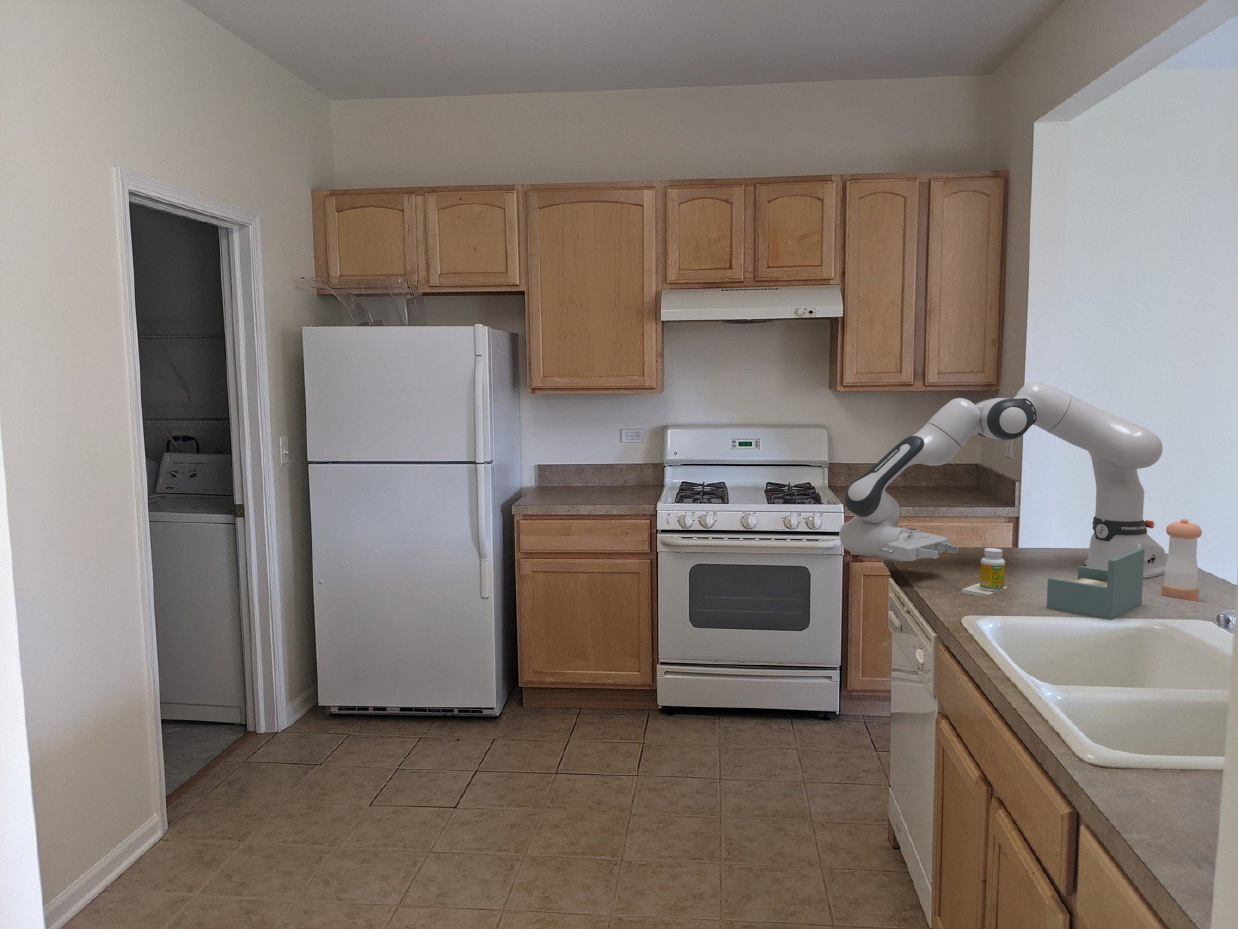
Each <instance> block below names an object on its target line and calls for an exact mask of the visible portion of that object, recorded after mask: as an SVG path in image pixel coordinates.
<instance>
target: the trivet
mask: <svg viewBox="0 0 1238 929" xmlns="http://www.w3.org/2000/svg"><path fill="white" fill-rule="evenodd" d="M1007 588H1008V587H1007V586H1004V589H1003V590H1005V589H1007ZM993 593H995V592H992V591H986V590H982V589H981V588H980V582H979V583H976V584H973V585H970V586H968V587H964V588H962V589H961V594H963V595H964V594H965V595H969V596H975V597H979V598H984V597H986V596H989V595H991V594H993Z"/></svg>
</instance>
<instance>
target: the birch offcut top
mask: <svg viewBox="0 0 1238 929" xmlns="http://www.w3.org/2000/svg"><path fill="white" fill-rule="evenodd" d="M1073 582H1079V583H1085V584H1092V585H1098V586H1104V587H1107V582H1103V581H1097V580H1091V579H1085V578H1081V579H1078V578H1077V579H1075V580H1073Z"/></svg>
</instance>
